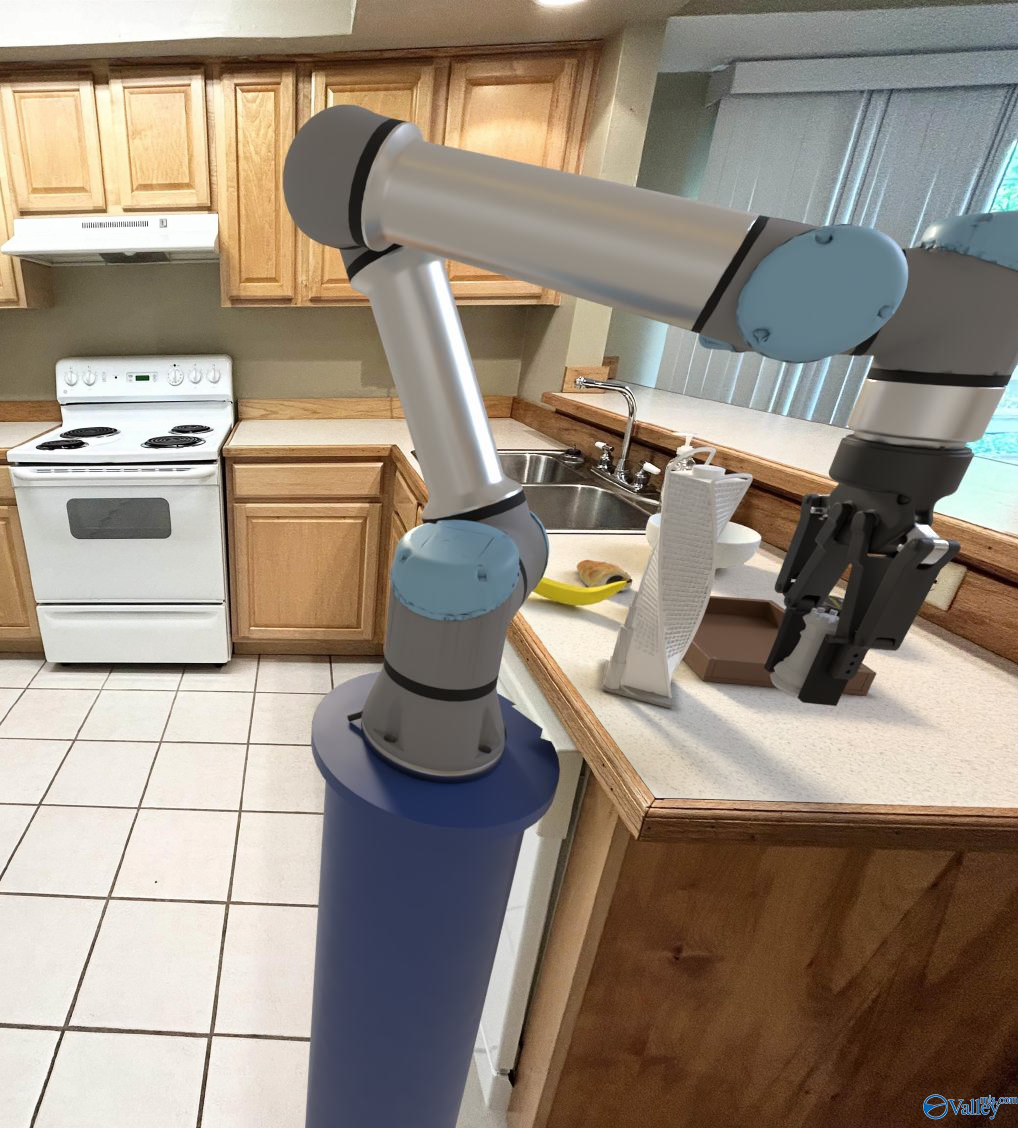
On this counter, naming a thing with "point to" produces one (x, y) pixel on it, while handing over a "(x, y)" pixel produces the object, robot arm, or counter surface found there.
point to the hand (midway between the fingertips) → (798, 685)
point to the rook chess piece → (804, 651)
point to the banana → (577, 592)
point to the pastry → (601, 574)
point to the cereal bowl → (720, 542)
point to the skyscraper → (674, 581)
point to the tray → (745, 644)
